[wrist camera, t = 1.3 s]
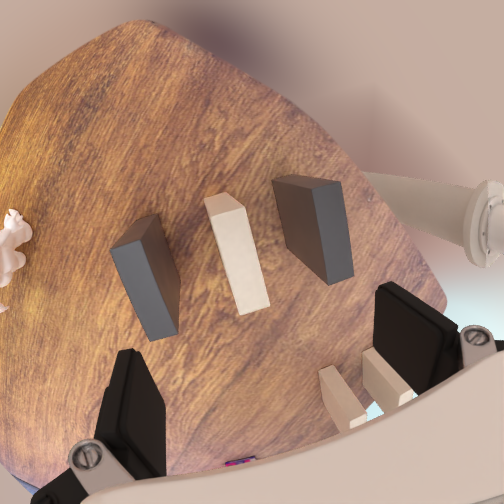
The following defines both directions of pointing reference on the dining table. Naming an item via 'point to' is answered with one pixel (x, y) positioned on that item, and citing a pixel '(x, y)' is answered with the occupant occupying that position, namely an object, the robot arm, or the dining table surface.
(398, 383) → the white book
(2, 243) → the toy creature
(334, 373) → the white book
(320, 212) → the dark grey block
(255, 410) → the dining table surface
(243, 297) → the white book
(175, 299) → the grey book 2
